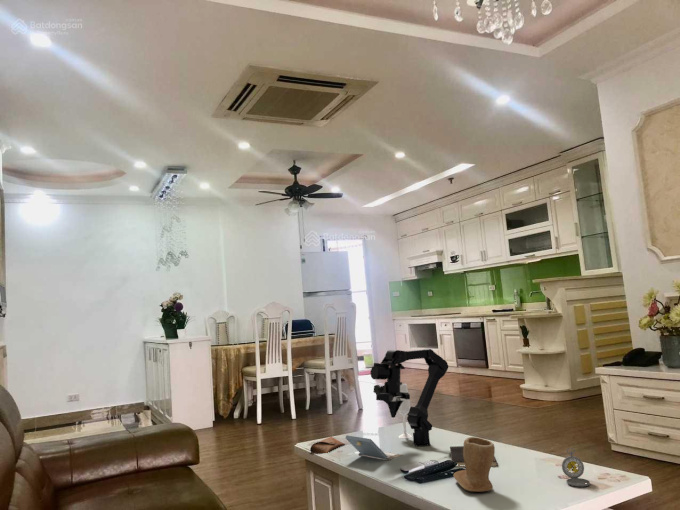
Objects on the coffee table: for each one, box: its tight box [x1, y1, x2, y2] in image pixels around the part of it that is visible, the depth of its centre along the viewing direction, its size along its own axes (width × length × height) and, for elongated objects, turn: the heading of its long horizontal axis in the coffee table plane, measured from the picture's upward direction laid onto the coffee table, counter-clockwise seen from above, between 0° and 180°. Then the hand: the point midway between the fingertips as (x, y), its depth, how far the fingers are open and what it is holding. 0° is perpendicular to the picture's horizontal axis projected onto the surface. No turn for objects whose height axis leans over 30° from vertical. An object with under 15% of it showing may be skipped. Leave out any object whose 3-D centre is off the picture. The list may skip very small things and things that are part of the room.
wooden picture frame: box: [358, 451, 403, 462], centre depth 205 cm, size 10×16×2 cm, turn 44°
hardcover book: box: [449, 445, 499, 467], centre depth 197 cm, size 16×23×2 cm
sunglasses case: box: [309, 436, 345, 454], centre depth 226 cm, size 18×7×7 cm, turn 153°
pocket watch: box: [561, 447, 591, 488], centre depth 161 cm, size 8×8×10 cm
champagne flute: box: [397, 383, 413, 439], centre depth 241 cm, size 7×7×24 cm
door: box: [345, 434, 387, 460], centre depth 199 cm, size 2×13×12 cm
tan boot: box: [453, 436, 496, 493], centre depth 164 cm, size 15×12×15 cm
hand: (393, 417), depth 218 cm, fingers closed
